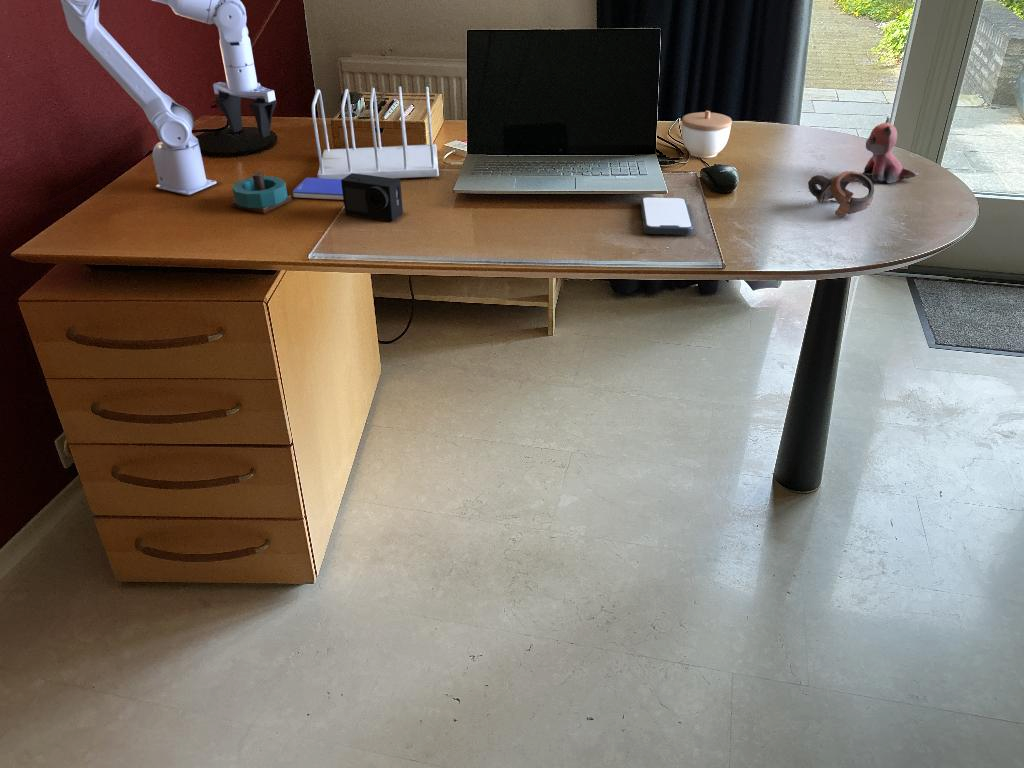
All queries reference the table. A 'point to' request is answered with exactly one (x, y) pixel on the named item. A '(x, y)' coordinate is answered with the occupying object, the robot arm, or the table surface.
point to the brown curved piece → (841, 191)
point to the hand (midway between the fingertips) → (251, 133)
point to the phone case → (666, 216)
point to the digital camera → (372, 197)
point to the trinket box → (705, 133)
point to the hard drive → (319, 189)
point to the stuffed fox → (885, 155)
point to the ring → (259, 193)
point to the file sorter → (375, 150)
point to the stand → (259, 186)
